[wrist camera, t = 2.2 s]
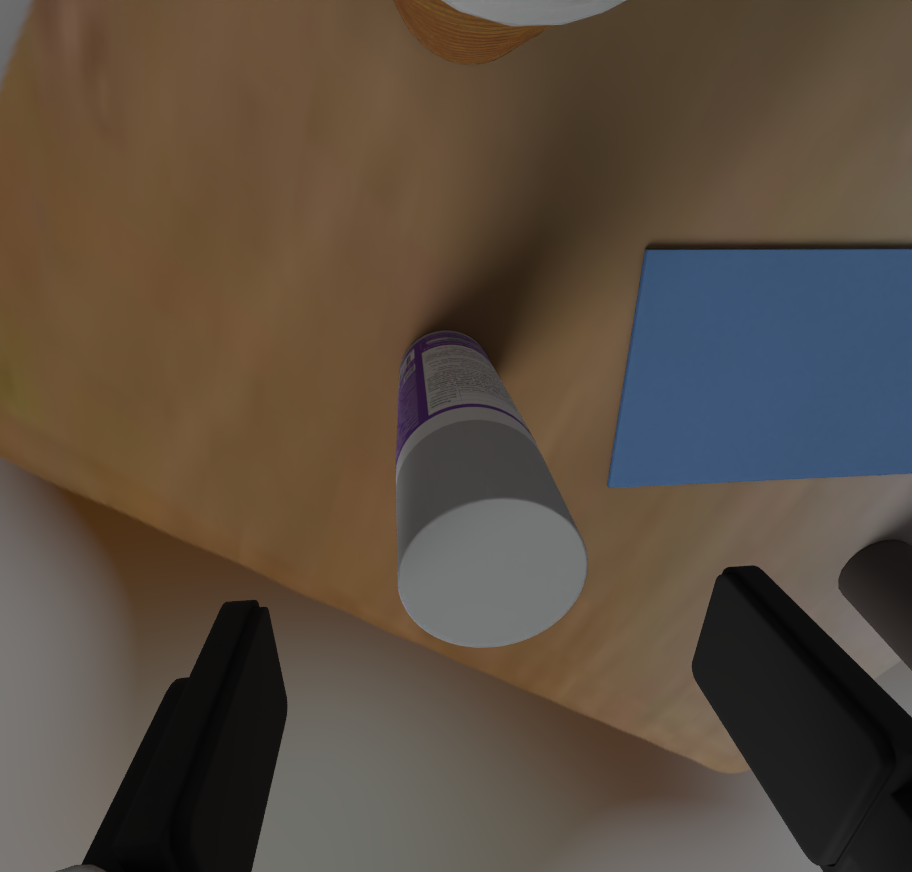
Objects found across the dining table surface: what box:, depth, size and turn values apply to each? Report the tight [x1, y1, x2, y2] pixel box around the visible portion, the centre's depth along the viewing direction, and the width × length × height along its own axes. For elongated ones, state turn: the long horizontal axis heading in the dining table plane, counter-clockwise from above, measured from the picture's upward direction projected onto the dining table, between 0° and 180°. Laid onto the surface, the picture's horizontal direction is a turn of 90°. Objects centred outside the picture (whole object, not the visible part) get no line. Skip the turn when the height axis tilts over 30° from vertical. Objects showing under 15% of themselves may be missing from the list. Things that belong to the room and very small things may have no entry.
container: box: [396, 330, 588, 647], centre depth 18 cm, size 5×5×15 cm
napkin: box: [607, 249, 912, 488], centre depth 27 cm, size 13×21×1 cm, turn 90°
